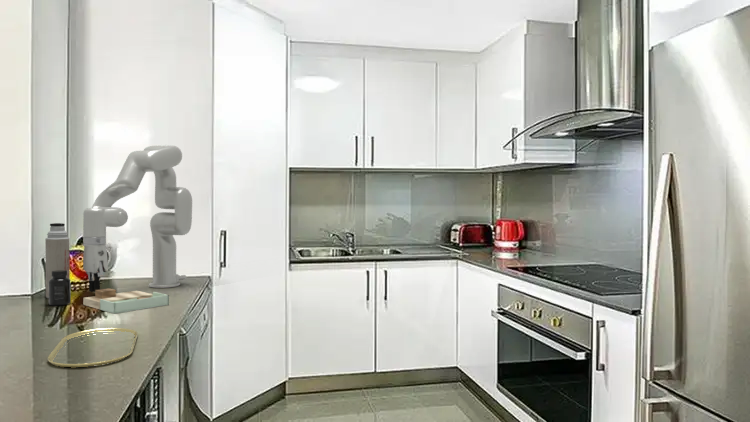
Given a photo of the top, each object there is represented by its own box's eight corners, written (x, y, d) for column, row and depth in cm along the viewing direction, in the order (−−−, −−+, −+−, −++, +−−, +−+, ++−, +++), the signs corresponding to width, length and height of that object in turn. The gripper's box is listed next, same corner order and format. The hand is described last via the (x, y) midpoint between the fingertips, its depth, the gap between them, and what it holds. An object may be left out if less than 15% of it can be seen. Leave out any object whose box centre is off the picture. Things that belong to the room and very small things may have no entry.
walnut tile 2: (108, 295, 206) (108, 288, 206) (115, 296, 203) (115, 289, 203) (95, 296, 202) (95, 290, 202) (102, 298, 199) (102, 291, 199)
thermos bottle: (73, 294, 219) (73, 222, 218) (62, 298, 211) (61, 224, 210) (53, 294, 219) (53, 222, 218) (41, 298, 211) (40, 223, 210)
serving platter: (139, 331, 166) (139, 326, 166) (129, 366, 133) (129, 360, 133) (68, 336, 160) (68, 330, 160) (39, 374, 127) (39, 367, 127)
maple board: (136, 297, 216) (136, 290, 216) (153, 301, 209) (153, 294, 209) (83, 304, 200) (83, 297, 200) (99, 309, 193) (99, 302, 193)
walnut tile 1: (157, 297, 200) (157, 304, 200) (150, 296, 203) (150, 302, 203) (144, 299, 196) (144, 307, 196) (136, 298, 199) (136, 304, 199)
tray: (154, 301, 208) (154, 291, 208) (168, 304, 203) (168, 295, 202) (100, 309, 193) (100, 299, 193) (114, 313, 187) (114, 303, 187)
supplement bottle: (74, 302, 204) (74, 269, 203) (62, 306, 197) (62, 272, 196) (57, 302, 204) (56, 269, 204) (44, 305, 198) (43, 271, 197)
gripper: (114, 242, 205) (114, 292, 206) (95, 239, 214) (95, 287, 215) (94, 243, 199) (94, 295, 200) (74, 240, 208) (74, 290, 209)
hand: (94, 291), depth 207 cm, fingers closed
